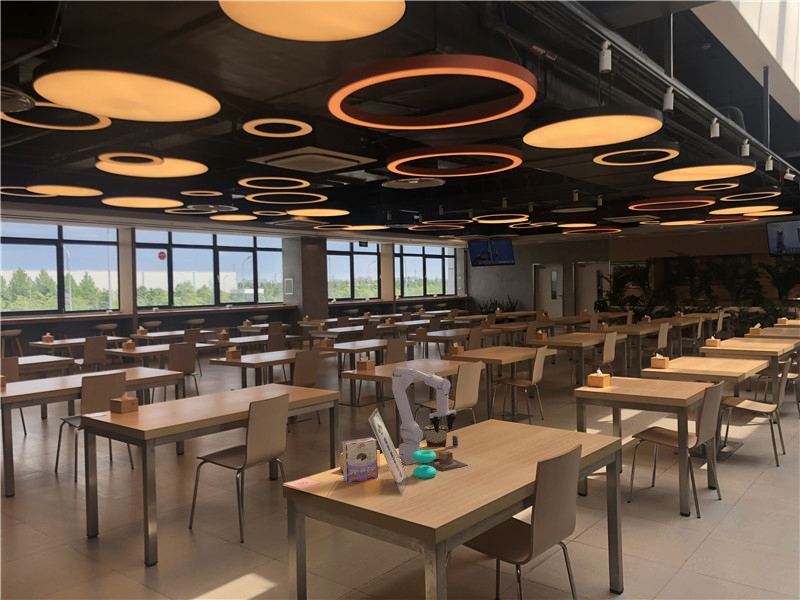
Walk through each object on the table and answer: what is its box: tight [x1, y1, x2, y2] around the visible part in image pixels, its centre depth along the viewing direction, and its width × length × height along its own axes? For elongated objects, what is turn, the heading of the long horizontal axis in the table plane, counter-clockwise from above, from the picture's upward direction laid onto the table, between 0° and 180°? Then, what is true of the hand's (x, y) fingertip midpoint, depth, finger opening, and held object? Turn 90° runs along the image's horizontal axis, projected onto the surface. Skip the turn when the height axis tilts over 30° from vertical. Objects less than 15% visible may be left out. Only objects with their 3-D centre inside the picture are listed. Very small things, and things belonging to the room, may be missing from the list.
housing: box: [439, 450, 454, 465], centre depth 265 cm, size 4×4×5 cm
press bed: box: [423, 458, 468, 472], centre depth 267 cm, size 14×18×3 cm
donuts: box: [412, 449, 437, 480], centre depth 251 cm, size 10×10×10 cm
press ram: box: [429, 435, 459, 460], centre depth 274 cm, size 18×2×8 cm, turn 121°
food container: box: [423, 424, 449, 448], centre depth 298 cm, size 12×6×10 cm, turn 84°
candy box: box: [341, 436, 379, 483], centre depth 250 cm, size 14×6×16 cm, turn 111°
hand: (443, 430), depth 286 cm, fingers open, 7 cm apart
